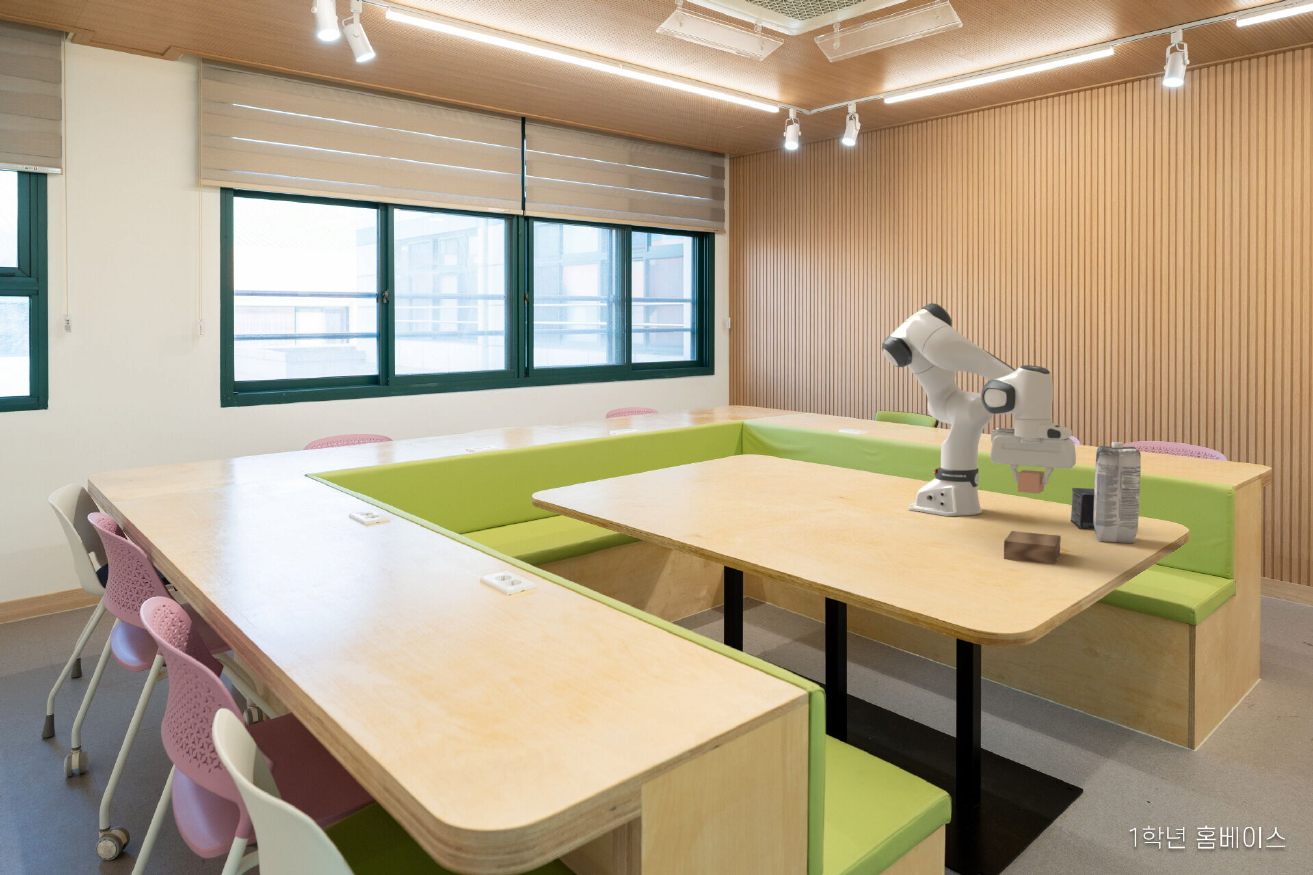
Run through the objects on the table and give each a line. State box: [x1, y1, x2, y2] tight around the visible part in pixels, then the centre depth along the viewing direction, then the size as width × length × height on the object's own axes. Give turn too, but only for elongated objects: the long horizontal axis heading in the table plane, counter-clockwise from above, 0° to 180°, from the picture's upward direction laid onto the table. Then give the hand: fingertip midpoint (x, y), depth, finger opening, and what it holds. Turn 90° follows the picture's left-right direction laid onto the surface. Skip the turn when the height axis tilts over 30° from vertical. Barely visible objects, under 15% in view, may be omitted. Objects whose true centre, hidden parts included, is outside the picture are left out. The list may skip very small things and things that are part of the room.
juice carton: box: [1093, 441, 1142, 544], centre depth 236 cm, size 9×10×27 cm
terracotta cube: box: [1017, 469, 1045, 494], centre depth 221 cm, size 5×5×5 cm
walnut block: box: [1003, 530, 1062, 565], centre depth 223 cm, size 12×12×5 cm
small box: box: [1070, 487, 1095, 530], centre depth 254 cm, size 11×6×10 cm, turn 168°
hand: (1031, 482), depth 221 cm, fingers closed on terracotta cube, 5 cm apart
